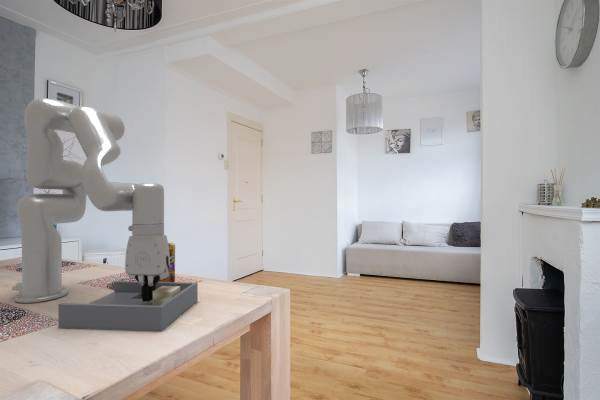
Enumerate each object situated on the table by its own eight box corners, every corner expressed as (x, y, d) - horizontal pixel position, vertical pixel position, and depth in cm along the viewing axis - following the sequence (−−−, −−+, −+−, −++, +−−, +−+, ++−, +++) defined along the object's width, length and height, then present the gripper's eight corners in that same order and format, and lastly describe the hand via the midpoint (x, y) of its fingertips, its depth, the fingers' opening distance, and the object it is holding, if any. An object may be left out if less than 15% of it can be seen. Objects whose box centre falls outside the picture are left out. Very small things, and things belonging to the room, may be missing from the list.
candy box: (146, 293, 102) (145, 245, 101) (144, 290, 105) (143, 244, 105) (175, 289, 106) (175, 243, 106) (172, 286, 110) (172, 241, 110)
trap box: (58, 327, 75) (58, 304, 75) (116, 299, 96) (116, 281, 96) (161, 331, 73) (161, 307, 73) (197, 301, 94) (197, 282, 94)
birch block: (152, 307, 82) (152, 291, 82) (162, 300, 87) (162, 286, 87) (171, 307, 82) (171, 291, 82) (180, 301, 87) (180, 286, 87)
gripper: (112, 231, 81) (112, 304, 81) (169, 232, 80) (169, 305, 80) (129, 228, 88) (130, 295, 89) (182, 229, 87) (182, 296, 87)
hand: (148, 299), depth 84 cm, fingers closed
